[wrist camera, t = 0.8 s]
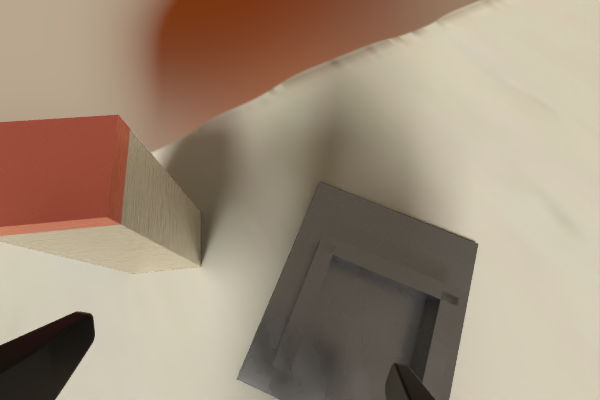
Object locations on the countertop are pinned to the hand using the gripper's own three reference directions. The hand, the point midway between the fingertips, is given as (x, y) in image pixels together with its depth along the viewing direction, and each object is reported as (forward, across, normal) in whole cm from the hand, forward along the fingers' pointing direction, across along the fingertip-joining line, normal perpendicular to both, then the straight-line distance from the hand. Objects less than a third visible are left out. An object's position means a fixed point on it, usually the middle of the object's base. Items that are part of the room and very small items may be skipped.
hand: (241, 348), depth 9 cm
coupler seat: (+12, -7, +7) cm, 16 cm away
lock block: (+14, +9, +5) cm, 17 cm away
